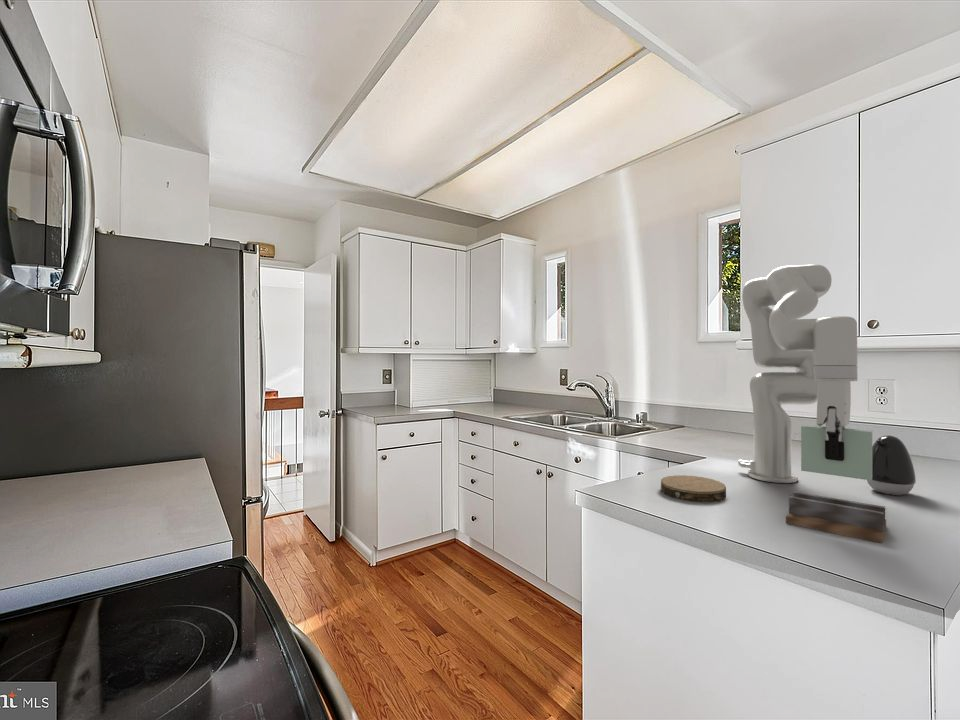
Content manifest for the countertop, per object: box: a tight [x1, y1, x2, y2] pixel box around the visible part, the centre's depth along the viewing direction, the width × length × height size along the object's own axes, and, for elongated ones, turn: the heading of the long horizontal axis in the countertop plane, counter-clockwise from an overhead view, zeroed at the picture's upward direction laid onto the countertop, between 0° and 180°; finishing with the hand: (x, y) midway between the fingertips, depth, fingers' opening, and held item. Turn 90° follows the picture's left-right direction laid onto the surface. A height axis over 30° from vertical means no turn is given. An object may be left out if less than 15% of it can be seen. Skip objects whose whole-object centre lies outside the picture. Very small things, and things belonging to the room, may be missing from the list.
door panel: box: [800, 424, 873, 481], centre depth 100 cm, size 12×2×10 cm, turn 46°
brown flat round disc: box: [660, 474, 727, 503], centre depth 124 cm, size 16×16×3 cm
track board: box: [785, 491, 887, 544], centre depth 100 cm, size 16×12×5 cm
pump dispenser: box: [866, 435, 917, 496], centre depth 122 cm, size 10×10×15 cm
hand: (835, 458), depth 100 cm, fingers closed on door panel, 2 cm apart
